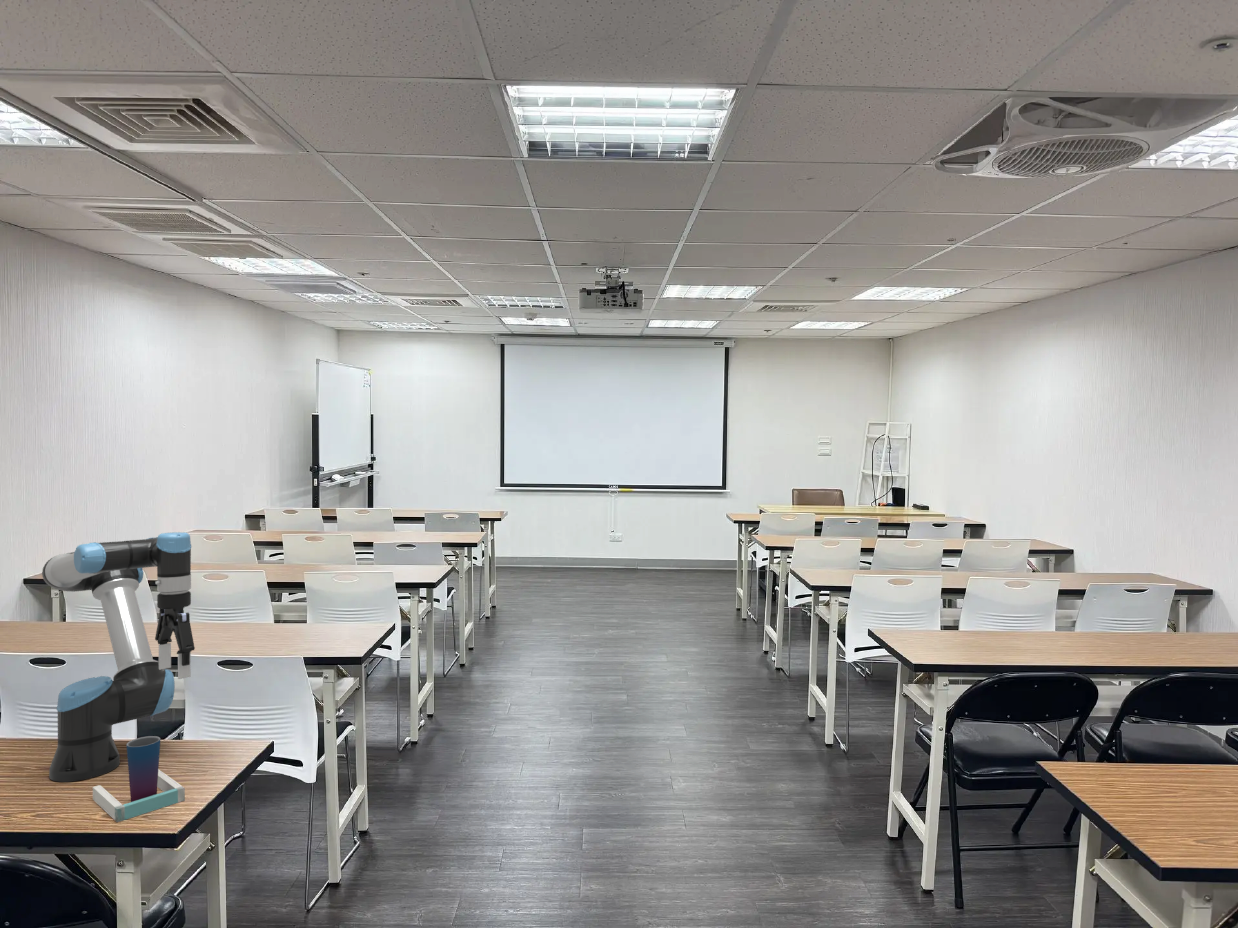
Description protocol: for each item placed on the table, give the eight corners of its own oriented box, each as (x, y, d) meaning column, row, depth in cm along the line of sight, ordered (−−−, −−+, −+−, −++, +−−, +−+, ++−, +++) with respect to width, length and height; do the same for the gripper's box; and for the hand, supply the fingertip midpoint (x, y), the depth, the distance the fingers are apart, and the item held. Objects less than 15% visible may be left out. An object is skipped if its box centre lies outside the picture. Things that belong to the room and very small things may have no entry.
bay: (92, 799, 176) (92, 786, 176) (157, 779, 187) (157, 768, 187) (117, 822, 165) (117, 808, 165) (184, 800, 176) (184, 787, 176)
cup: (143, 811, 170) (143, 747, 170) (119, 809, 171) (119, 745, 171) (167, 798, 177) (167, 736, 177) (143, 796, 178) (143, 734, 178)
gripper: (141, 588, 195) (141, 667, 195) (176, 599, 179) (176, 685, 179) (172, 585, 201) (172, 661, 201) (208, 595, 185) (209, 678, 185)
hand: (174, 673), depth 190 cm, fingers open, 13 cm apart
